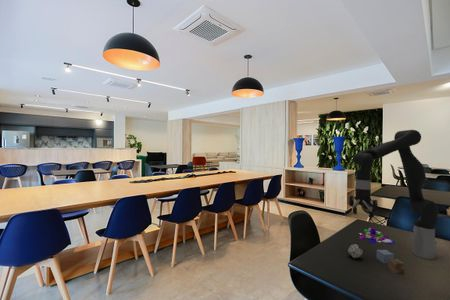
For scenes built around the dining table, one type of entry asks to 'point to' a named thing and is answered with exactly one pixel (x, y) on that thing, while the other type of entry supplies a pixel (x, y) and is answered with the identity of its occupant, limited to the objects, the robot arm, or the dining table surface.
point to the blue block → (384, 255)
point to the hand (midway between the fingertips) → (362, 215)
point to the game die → (355, 251)
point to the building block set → (373, 232)
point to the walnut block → (396, 265)
